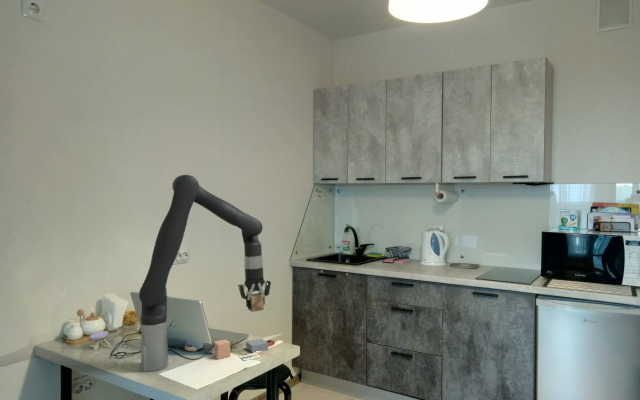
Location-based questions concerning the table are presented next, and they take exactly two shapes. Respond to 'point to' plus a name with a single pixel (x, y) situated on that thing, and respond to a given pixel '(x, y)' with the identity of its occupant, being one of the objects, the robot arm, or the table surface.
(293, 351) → the table surface
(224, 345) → the terracotta brick
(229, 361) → the table surface
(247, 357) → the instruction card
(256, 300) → the walnut brick
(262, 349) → the base brick
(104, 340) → the toy table
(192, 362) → the table surface
